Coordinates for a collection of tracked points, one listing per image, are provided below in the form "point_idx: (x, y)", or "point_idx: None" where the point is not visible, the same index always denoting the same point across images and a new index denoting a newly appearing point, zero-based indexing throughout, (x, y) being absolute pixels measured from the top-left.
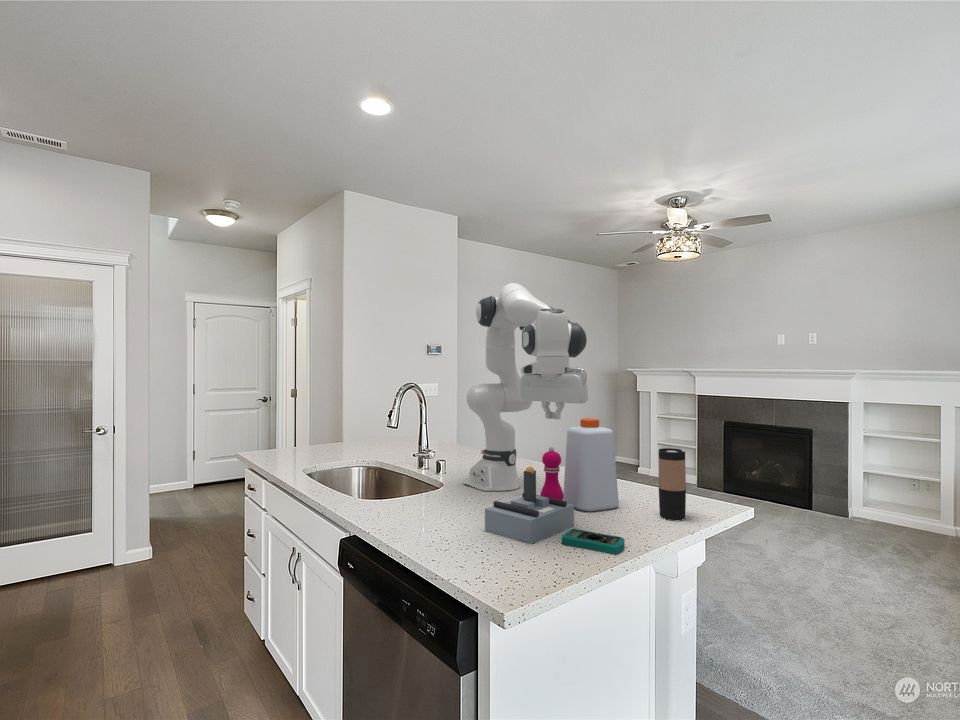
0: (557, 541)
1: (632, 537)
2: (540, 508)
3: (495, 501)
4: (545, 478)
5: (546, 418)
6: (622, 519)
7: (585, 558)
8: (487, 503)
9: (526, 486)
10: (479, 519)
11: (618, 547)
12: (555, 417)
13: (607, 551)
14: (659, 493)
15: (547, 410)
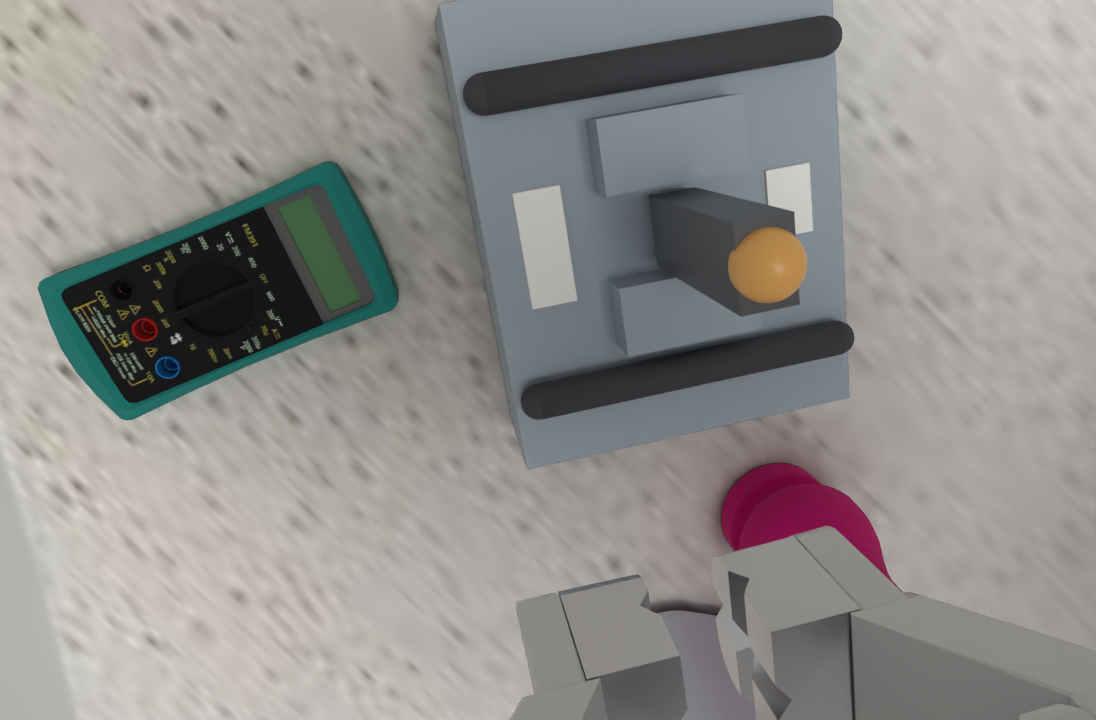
0: (384, 177)
1: (209, 528)
2: (596, 248)
3: (827, 27)
4: (889, 577)
5: (805, 536)
6: (437, 678)
7: (98, 106)
8: (1084, 309)
9: (716, 204)
10: (923, 78)
11: (45, 305)
12: (559, 605)
13: (93, 260)
14: None
15: (897, 677)
